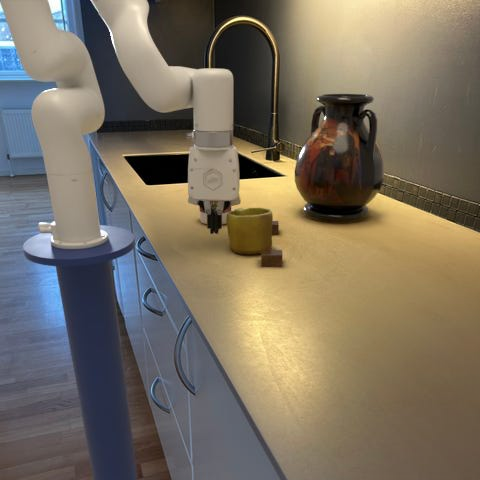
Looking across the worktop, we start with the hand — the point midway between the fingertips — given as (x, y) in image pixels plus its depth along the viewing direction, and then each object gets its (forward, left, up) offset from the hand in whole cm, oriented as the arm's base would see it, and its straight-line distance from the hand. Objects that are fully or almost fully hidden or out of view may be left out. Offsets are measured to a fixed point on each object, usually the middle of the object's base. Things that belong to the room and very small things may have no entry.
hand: (214, 231), depth 107 cm
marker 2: (+12, +10, -3) cm, 16 cm away
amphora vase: (+29, +25, -4) cm, 38 cm away
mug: (+7, 0, -4) cm, 8 cm away
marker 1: (+12, -10, -3) cm, 16 cm away
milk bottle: (-1, +19, -4) cm, 19 cm away
